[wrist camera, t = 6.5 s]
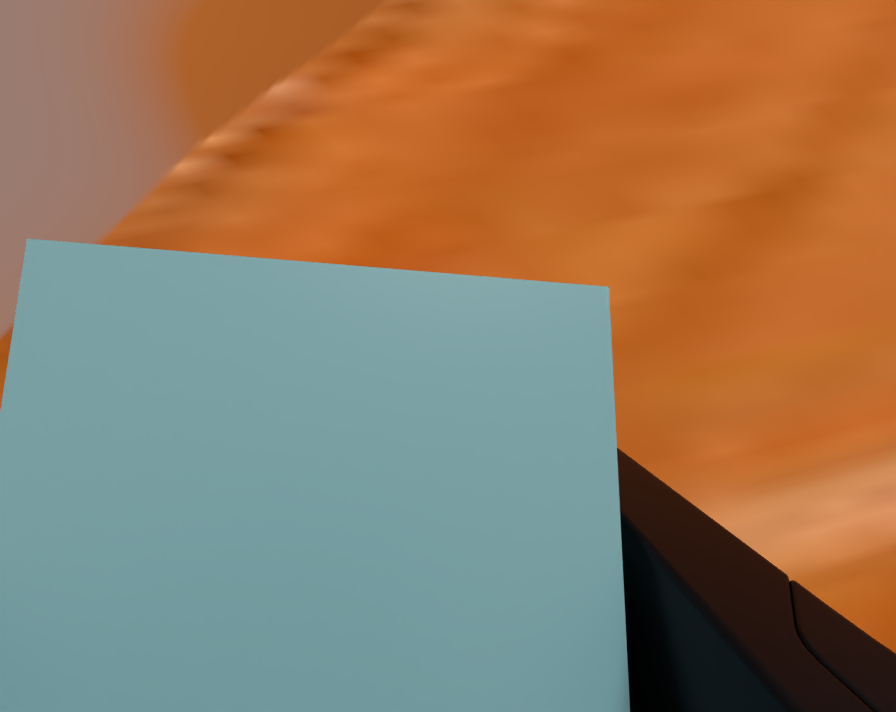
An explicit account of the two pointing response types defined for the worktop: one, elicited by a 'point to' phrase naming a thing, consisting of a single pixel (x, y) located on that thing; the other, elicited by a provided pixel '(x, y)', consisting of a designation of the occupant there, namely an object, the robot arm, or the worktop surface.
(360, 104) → the worktop surface
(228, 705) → the pale teal block
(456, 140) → the worktop surface
